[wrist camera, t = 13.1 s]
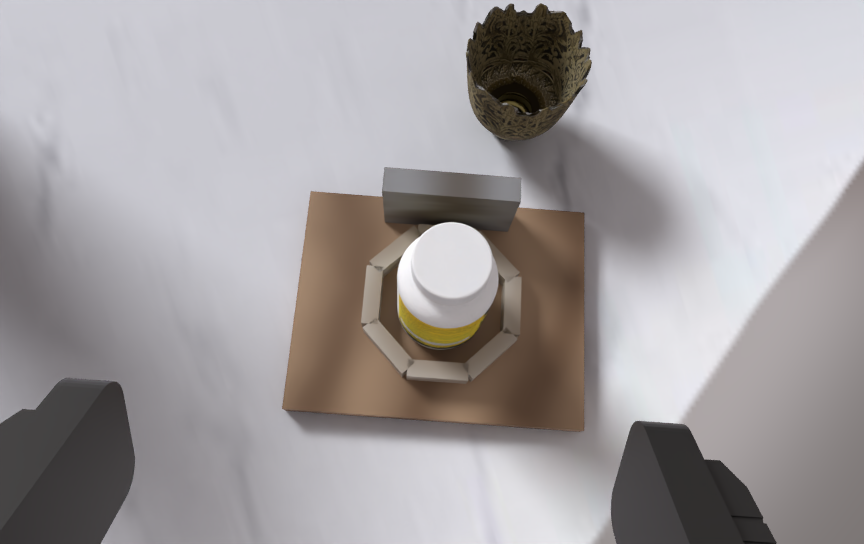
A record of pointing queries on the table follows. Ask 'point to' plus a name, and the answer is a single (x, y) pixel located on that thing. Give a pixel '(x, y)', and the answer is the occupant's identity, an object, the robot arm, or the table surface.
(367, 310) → the socket board
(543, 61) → the cup
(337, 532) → the table surface
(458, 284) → the supplement bottle
